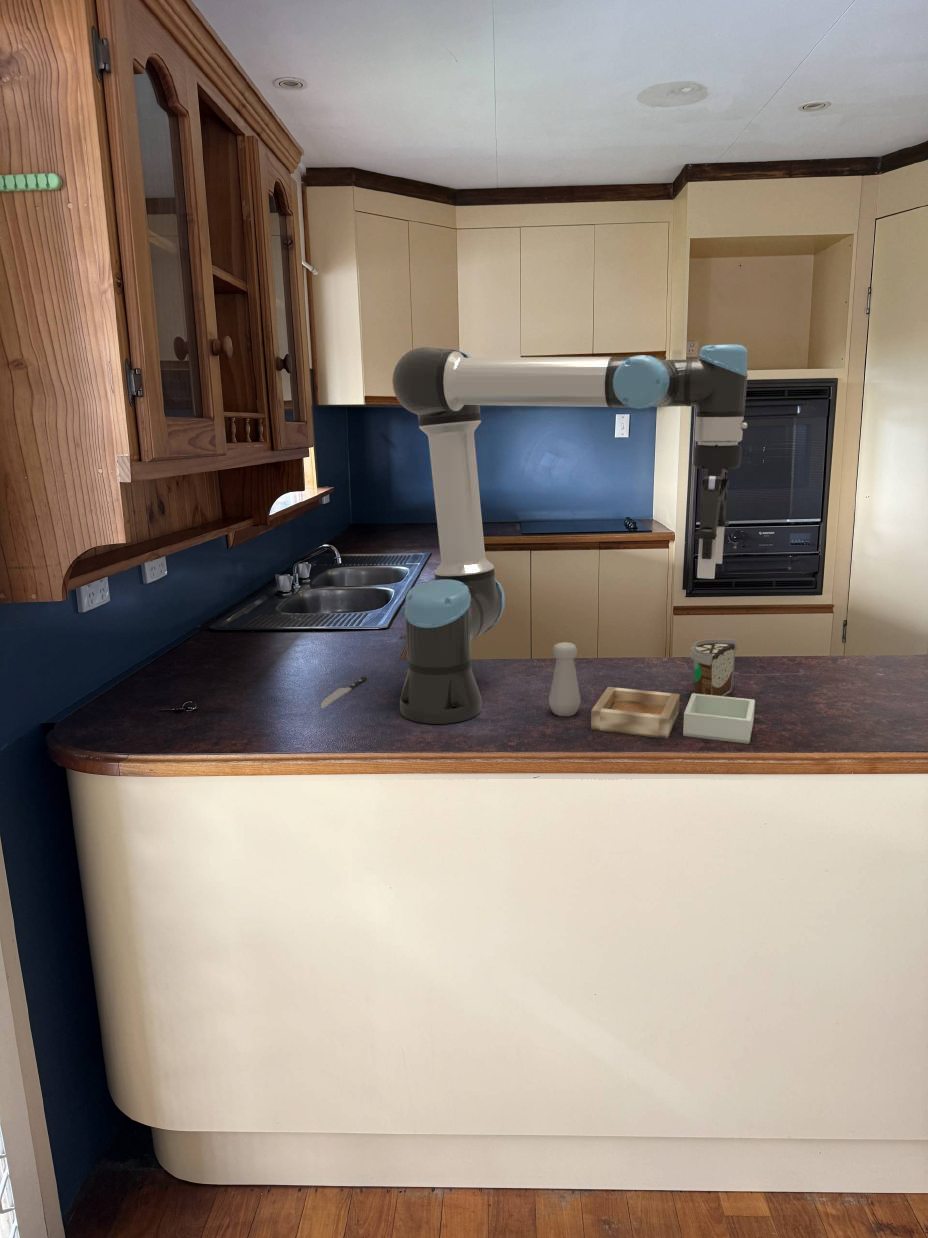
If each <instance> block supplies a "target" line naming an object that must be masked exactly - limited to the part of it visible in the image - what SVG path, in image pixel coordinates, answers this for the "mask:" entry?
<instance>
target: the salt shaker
mask: <svg viewBox="0 0 928 1238" xmlns="http://www.w3.org/2000/svg"><path fill="white" fill-rule="evenodd" d="M577 649H578V648H577V646H576V644H574V643H572V642H566V641H564V642H557V643H556V644H554V645H553V648H552V653H553V655H552V656H553V657H554V658H555V659H556V660H555V663H554V664H555V665H554V670H553V674H552V676H553V677H552V682H551V687H550V691H549V696H548V704H549V706H550V709H551V712H552V713H553V714H554V715H556V716H559V717H572V716H574V715H576V714H577V712H578V710H579V708H580V705H581V702H582V699H581V695H580V689H579V682H578V675H577V671H576V665H575V664H576V663H575V659H574V658H576V657H577V656H578V650H577Z"/></svg>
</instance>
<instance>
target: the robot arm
mask: <svg viewBox="0 0 928 1238" xmlns="http://www.w3.org/2000/svg"><path fill="white" fill-rule="evenodd" d="M748 354H749V351H748V349H747V348H746V347H745V346H744V345H741V344H709V345H708V344H707V345H703V346H702V347H700V350H699V355H698V357H696V358H689V359H661V358H657V357H653V356H652V355H646V354H645V355H644V354H643V355H642V354H641V355H640V354H639V355H636V354H635V355H633V356H553V357H552V356H547V357H544V356H543V357H542V356H539V357H538V356H536V357H533V356H532V357H529V356H527V357H524V356H523V357H519V356H518V357H473V356H471V355H469V354H467V353H465V352H464V351H460V350H458V349H453V348H450V349H449V348H437V347H429V346H421V347H416V348H414V349H411V350H409V351H407V352H406V353H405V354H403V355H402V356H401V357H400V359H399V360H398V361H397V363H396V365H395V367H394V368H393V373H392V383H391V384H392V388H393V393H394V396H395V397H396V400H397V401H398V402H399V404H400V405H401V406H402V408H404V409H406V411H408V412H410V413H412V414H415V415H417V418H418V419H417V420H418V428H419V429H420V430H421V431H422V432H423V433H424V434H426V436H427V437H428V439H427V440H428V447H429V455H430V456H429V457H430V467H431V477H432V486H433V493H434V505H435V514H436V524H437V531H438V532H437V534H438V543H439V544H438V545H439V553H440V564H439V565H438V566H437V568H436V569H435V570H434V579H433V580H429V581H428V582H425V581H424V582H421V583H419V584H417V585H414V586H413V587H411V588H410V589H409V591H408V592H407V593H406V596H405V607H404V617H405V635H406V653H407V673H406V677H405V681H404V684H403V687H402V691H401V693H400V694H401V695H400V697H399V711H400V715H401V716H403V717H404V718H405V719H408V720H409V721H412V722H417V723H421V724H428V725H429V724H430V725H432V724H433V725H444V724H452V723H453V724H454V723H461V722H464V721H467V720H470V719H473V718H474V717H476V716H477V715H479V714H480V713H481V712H482V709H483V708H482V695H481V693H480V690H479V689H480V688H479V687H478V684H477V682H476V681H477V680H476V679H475V676H474V673H473V670H472V669H473V668H472V641H473V640H475V639H476V638H478V637H479V636H480V635H482V634H486V633H487V632H488V631H490V630H491V629H493V627H494V626H495V625H496V623H498V622H499V620H500V619H501V617H502V616H503V614H504V610H505V608H506V607H505V606H506V597H505V596H506V595H505V591H504V589H503V586H502V585H501V583H500V582H499V581H498V580H497V579H496V574H495V573H496V572H495V567H494V564H493V563H491V561H489V560H488V559H487V557H486V550H485V541H484V539H485V538H484V529H483V518H482V508H481V499H480V498H481V497H480V487H479V485H480V484H479V475H478V474H479V473H478V463H477V454H476V453H477V452H476V443H475V442H476V441H475V431H476V429H477V428H478V427H479V425H480V424H482V418H481V407H480V406H505V407H506V406H509V407H510V406H514V407H515V406H517V407H518V406H519V407H520V406H521V407H522V406H524V407H527V406H528V407H585V408H586V407H587V408H588V407H589V408H590V407H591V408H592V407H593V408H594V407H595V408H596V407H597V408H598V407H599V408H601V407H602V408H603V407H605V408H631V409H638V410H640V409H641V410H642V409H649V408H662V407H663V408H669V407H696V416H695V424H694V441H695V442H697V444H695V446H694V448H693V450H694V451H693V467H694V468H697V469H707V475H704V478H703V479H702V481H701V482H702V483H701V484H702V485H701V488H702V494H701V509H700V518H699V519H700V520H699V529H698V531H697V532H695V533H694V538H695V539H698V552H697V553H698V555H697V571H696V572H697V573H696V579H697V578H698V579H710V580H711V579H713V580H714V579H715V578H716V577H715V575H716V574H715V573H716V564H719V565H722V564H723V554H724V541H725V539H724V538H725V527H729V525H730V524H729V523H730V519H727V516H726V514H727V511H726V510H727V509H726V508H727V497H728V490H729V484H730V479H729V478H728V475H729V474H728V473H729V472H728V470H731V469H732V470H733V469H738V468H740V466H741V462H742V453H743V447H742V446H741V444H738V443H739V442H741V441H742V440H743V432H744V431H743V429H747V428H748V422H743V421H744V418H745V417H744V416H745V408H746V396H747V385H748V377H749V374H748V363H749V362H748V361H749V360H748V358H749V357H748V356H749V355H748Z"/></svg>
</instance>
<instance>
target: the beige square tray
mask: <svg viewBox="0 0 928 1238" xmlns="http://www.w3.org/2000/svg"><path fill="white" fill-rule="evenodd" d="M680 696H681V695H680V693H672V692H664V691H663V692H661V691H652V690H642V689H634V688H633V689H632V688H625V687H624V688H623V687H622V688H621V687H614V686H607V688H606V689H605V690H604V692H603V693H602V695H601V696H600V697H599V699H598V700H597V702H596V703H595V705H594V706H593V707H592V709H591V712H590V713H591V716H590V720H591V721H590V729H591V730H594V731H600V732H601V731H602V732H608V733H617V734H623V735H624V734H625V735H633V736H641V737H650V738H659V739H666V740H668V739H669V736H670V734H671V732H672V730H673V727H674V726H675V722H676V720H677V718H678V715H679V713H680V700H681V699H680ZM615 701H619V702H628V703H637V704H646V705H655V706H664V709H663V712H662V714H661V715H655V714H647V713H638V712H629V711H620V710H612V709H611V707H612V706H613V704H614V703H615Z"/></svg>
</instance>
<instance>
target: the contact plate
mask: <svg viewBox="0 0 928 1238" xmlns="http://www.w3.org/2000/svg"><path fill="white" fill-rule="evenodd" d="M611 709H612V710H620V711H629V712H638V713H647V714H655V715H661V714H662V712H663V709H664V706H655V705H646V704H637V703H628V702H619V701H615V703H614V704H613V706H612V707H611Z"/></svg>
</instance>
